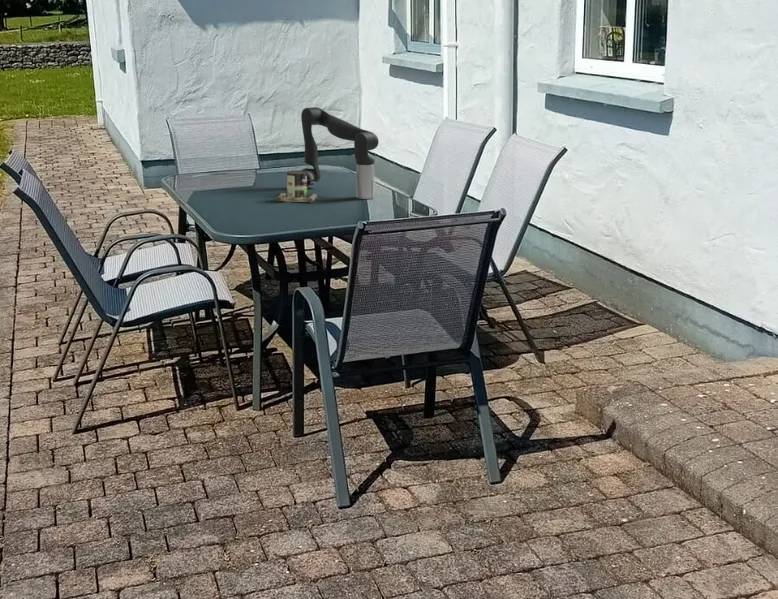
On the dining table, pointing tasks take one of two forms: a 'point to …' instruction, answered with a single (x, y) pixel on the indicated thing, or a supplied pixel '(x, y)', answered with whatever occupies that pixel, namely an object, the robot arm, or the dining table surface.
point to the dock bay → (283, 198)
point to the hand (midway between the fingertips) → (298, 184)
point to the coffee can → (297, 184)
